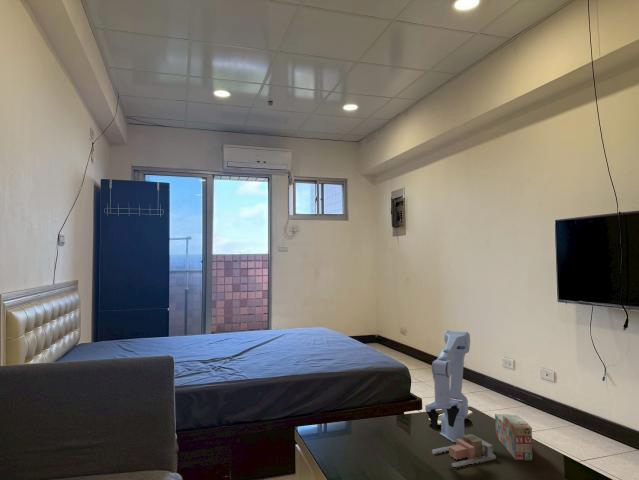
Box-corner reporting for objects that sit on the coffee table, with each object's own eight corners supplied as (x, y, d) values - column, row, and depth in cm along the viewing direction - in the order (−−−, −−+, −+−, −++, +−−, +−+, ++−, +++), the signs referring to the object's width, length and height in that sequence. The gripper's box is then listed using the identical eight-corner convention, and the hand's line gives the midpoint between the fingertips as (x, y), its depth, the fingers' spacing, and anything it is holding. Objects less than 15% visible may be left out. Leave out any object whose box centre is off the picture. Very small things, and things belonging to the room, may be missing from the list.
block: (462, 451, 159) (462, 435, 159) (471, 449, 160) (470, 434, 160) (473, 458, 153) (473, 442, 153) (482, 456, 155) (481, 440, 155)
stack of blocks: (495, 436, 173) (494, 406, 173) (510, 436, 172) (509, 406, 173) (515, 460, 151) (514, 426, 152) (533, 461, 151) (532, 427, 152)
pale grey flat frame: (432, 452, 158) (431, 440, 158) (471, 444, 165) (470, 433, 165) (454, 468, 146) (454, 455, 146) (495, 458, 152) (495, 446, 153)
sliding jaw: (445, 453, 157) (445, 441, 157) (461, 449, 160) (460, 438, 160) (459, 462, 149) (459, 450, 150) (475, 458, 152) (475, 447, 152)
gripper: (433, 397, 151) (433, 434, 151) (464, 392, 157) (465, 428, 156) (421, 391, 158) (422, 427, 157) (452, 387, 163) (452, 422, 163)
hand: (443, 427), depth 157 cm, fingers open, 7 cm apart
